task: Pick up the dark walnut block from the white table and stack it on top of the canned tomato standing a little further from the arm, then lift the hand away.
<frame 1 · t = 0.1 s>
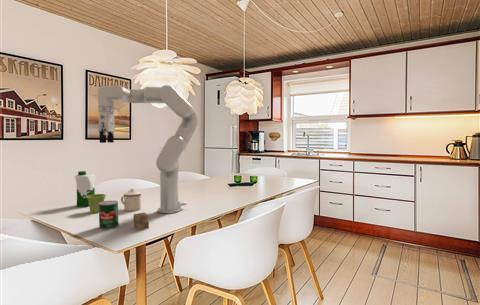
hand: (106, 142, 149), 37 cm above the table, tool pointing down, fingers open, 9 cm apart
walnut block: (141, 227, 124), on the table
plant pot: (96, 211, 151), on the table
teacup with lid: (130, 209, 156), on the table
canned tomato: (109, 227, 125), on the table
milk carton: (86, 205, 164), on the table
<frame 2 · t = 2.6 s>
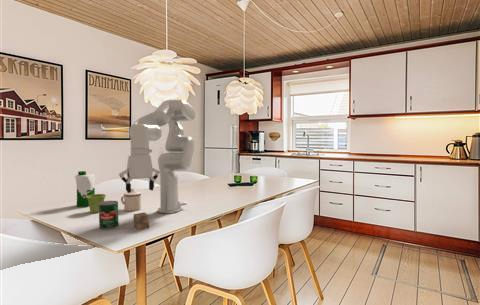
hand: (140, 191, 123), 16 cm above the table, tool pointing down, fingers open, 9 cm apart
nothing on the table moved.
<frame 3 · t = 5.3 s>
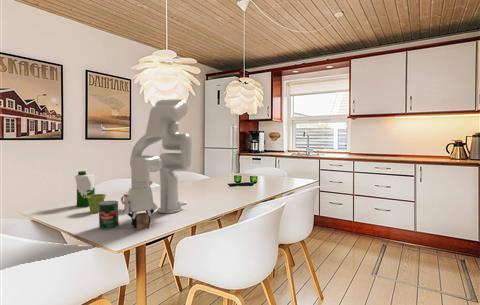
hand: (141, 225, 124), 1 cm above the table, tool pointing down, fingers closed on walnut block, 5 cm apart
walnut block: (141, 227, 124), on the table, touching gripper
everything else where it was.
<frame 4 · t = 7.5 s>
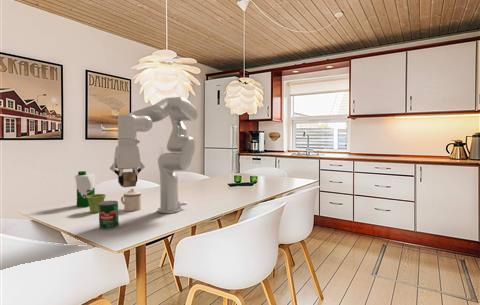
hand: (128, 183, 123), 19 cm above the table, tool pointing down, fingers closed on walnut block, 5 cm apart
walnut block: (128, 186, 123), point 18 cm above the table, touching gripper
everything else where it was.
when the fingers open (13 cm above the table, at t = 10.0 s): walnut block stays where it is, resting on canned tomato.
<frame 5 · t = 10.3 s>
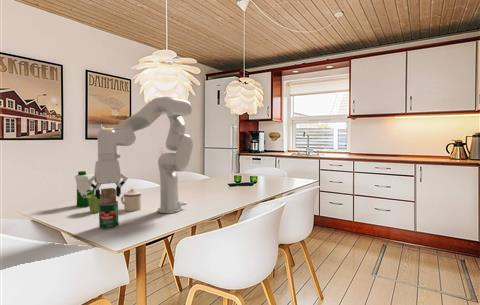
hand: (108, 197, 124), 13 cm above the table, tool pointing down, fingers open, 7 cm apart
walnut block: (108, 202, 124), point 11 cm above the table, touching canned tomato
canned tomato: (109, 227, 125), on the table, touching walnut block
everything else where it was.
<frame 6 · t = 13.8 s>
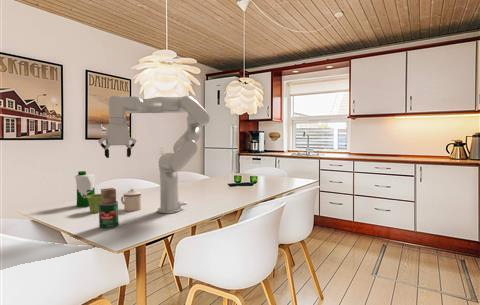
hand: (118, 157, 136), 30 cm above the table, tool pointing down, fingers open, 9 cm apart
nothing on the table moved.
at the end: walnut block inside the target area on the canned tomato (0.1 cm from its centre), point 11.2 cm above the canned tomato's base; walnut block tilted 0°; the gripper is holding nothing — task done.
